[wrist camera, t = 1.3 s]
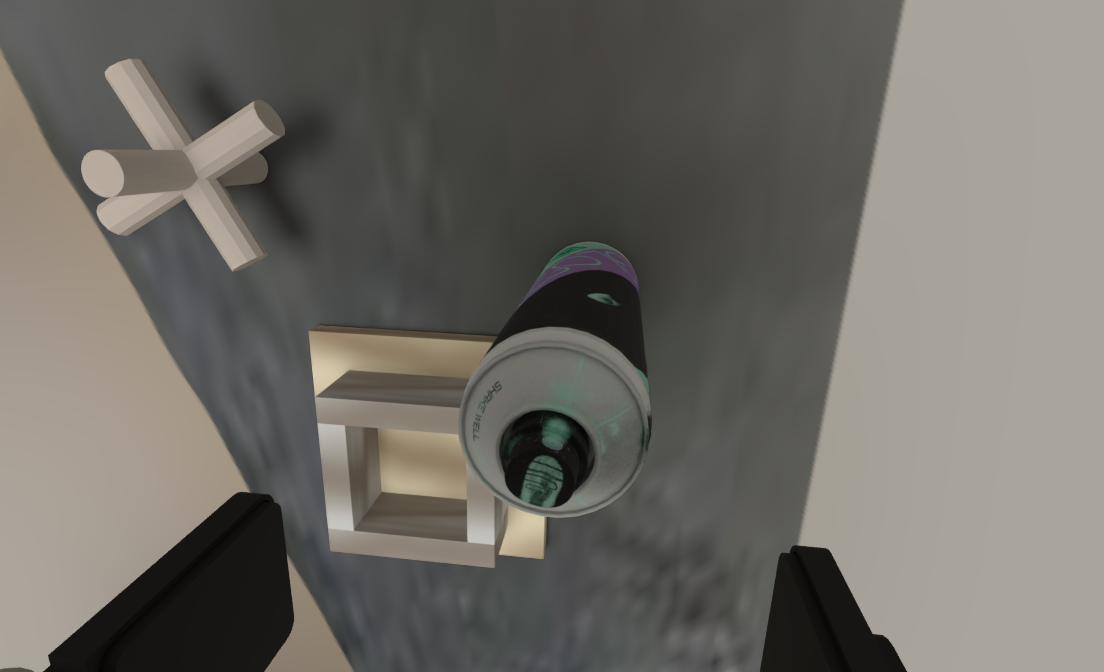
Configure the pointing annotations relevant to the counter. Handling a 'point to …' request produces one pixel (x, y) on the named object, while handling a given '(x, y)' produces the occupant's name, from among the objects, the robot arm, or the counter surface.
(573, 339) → the spray can
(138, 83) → the pipe connector
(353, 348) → the collar block
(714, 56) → the counter surface
